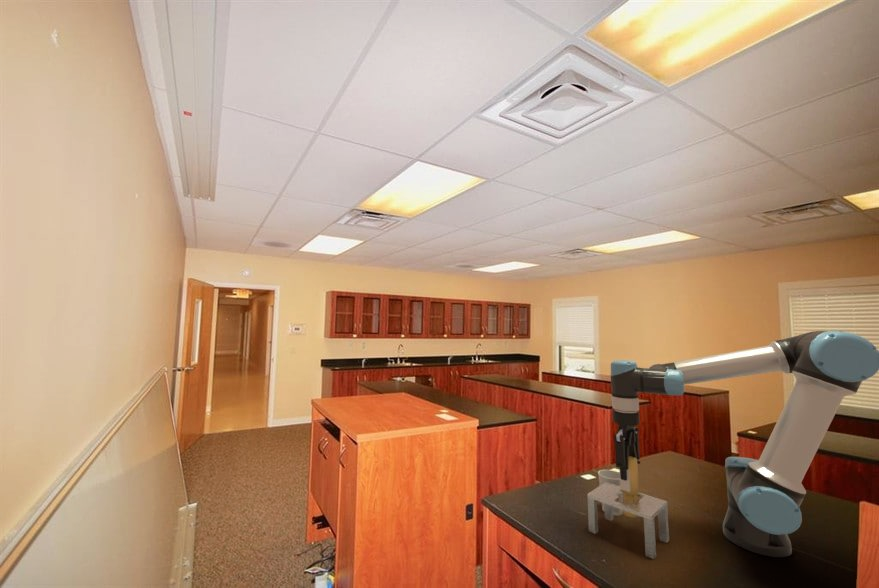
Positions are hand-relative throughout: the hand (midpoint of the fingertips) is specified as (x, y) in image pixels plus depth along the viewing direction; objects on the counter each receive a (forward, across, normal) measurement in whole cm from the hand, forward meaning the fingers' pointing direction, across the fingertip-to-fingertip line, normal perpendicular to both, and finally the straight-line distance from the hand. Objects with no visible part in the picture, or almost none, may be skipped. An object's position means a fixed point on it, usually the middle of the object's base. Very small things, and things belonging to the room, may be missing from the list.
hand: (629, 487), depth 111 cm
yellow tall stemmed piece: (+8, 0, 0) cm, 8 cm away
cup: (+13, -9, -10) cm, 19 cm away
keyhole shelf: (+13, +2, 0) cm, 13 cm away
